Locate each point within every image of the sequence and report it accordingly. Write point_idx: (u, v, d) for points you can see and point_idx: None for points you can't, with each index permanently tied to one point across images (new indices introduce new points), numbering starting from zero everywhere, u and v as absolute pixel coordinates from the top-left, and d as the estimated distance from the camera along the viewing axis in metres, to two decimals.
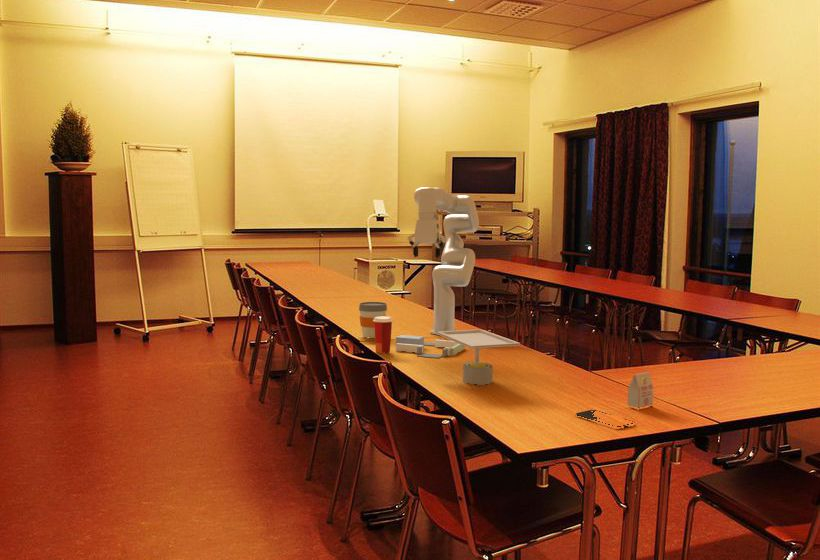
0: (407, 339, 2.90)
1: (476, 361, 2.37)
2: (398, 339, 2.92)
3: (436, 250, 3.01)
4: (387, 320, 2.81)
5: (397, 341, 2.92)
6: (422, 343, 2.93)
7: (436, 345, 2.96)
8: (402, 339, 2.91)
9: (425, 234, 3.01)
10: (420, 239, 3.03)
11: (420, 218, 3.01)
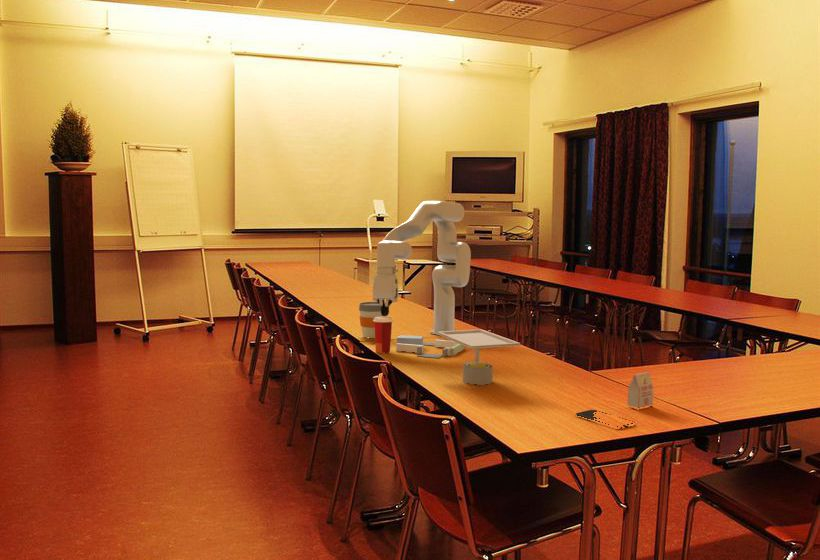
0: (409, 339, 2.90)
1: (476, 361, 2.37)
2: (399, 339, 2.91)
3: (384, 308, 2.94)
4: (387, 320, 2.81)
5: (398, 342, 2.91)
6: (422, 342, 2.94)
7: (436, 345, 2.96)
8: (403, 339, 2.91)
9: (384, 289, 2.93)
10: (378, 294, 2.94)
11: (378, 273, 2.92)
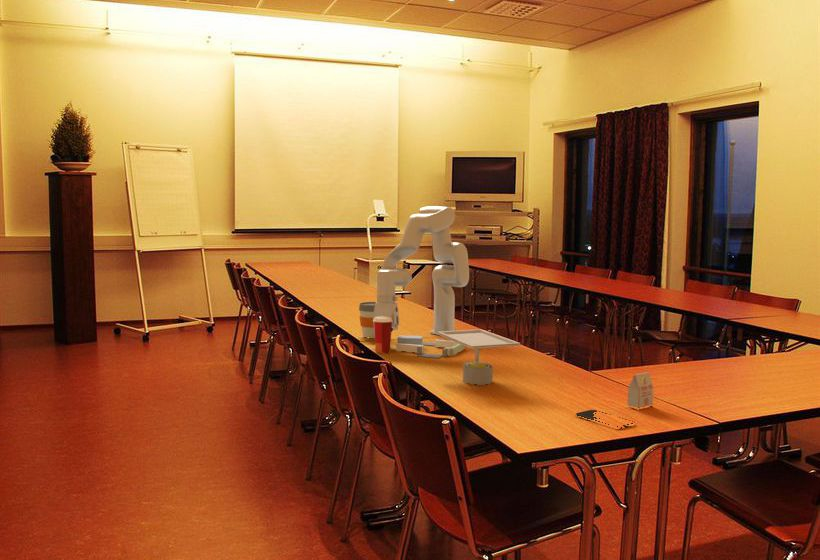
0: (409, 339, 2.90)
1: (476, 361, 2.37)
2: (400, 339, 2.90)
3: None
4: (387, 320, 2.81)
5: (399, 342, 2.91)
6: None
7: (436, 345, 2.96)
8: (404, 339, 2.90)
9: None
10: None
11: (378, 301, 2.93)
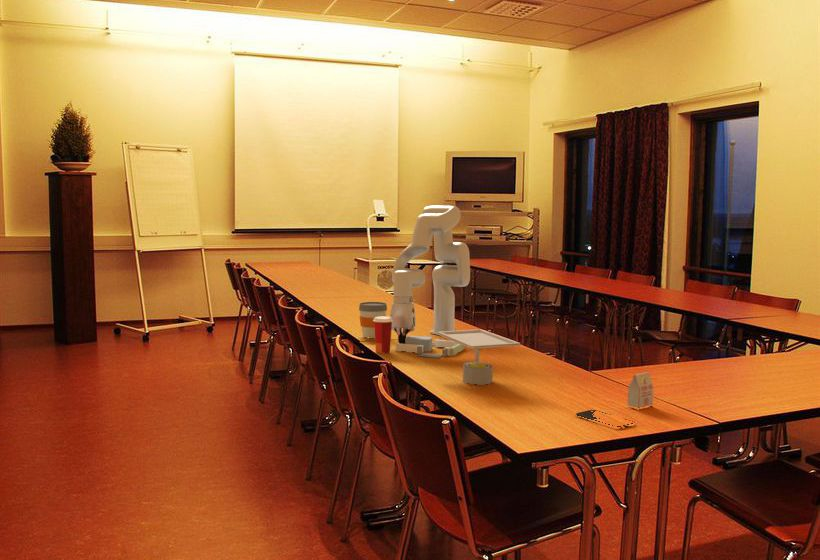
0: (417, 340, 2.88)
1: (476, 361, 2.37)
2: (407, 340, 2.89)
3: (402, 337, 2.93)
4: (387, 320, 2.81)
5: (406, 342, 2.89)
6: (431, 343, 2.91)
7: (436, 345, 2.96)
8: (412, 340, 2.88)
9: (401, 318, 2.91)
10: (395, 323, 2.93)
11: (395, 302, 2.91)
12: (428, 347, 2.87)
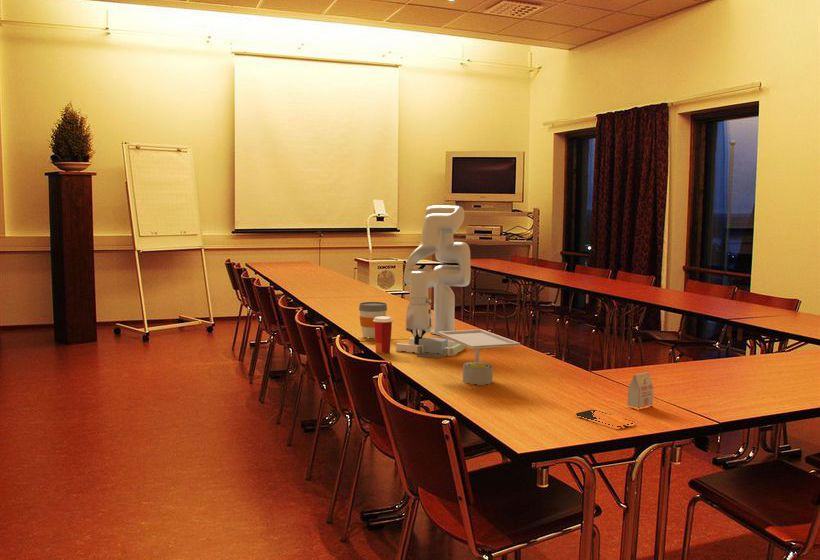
0: (430, 341, 2.84)
1: (476, 361, 2.37)
2: (421, 341, 2.86)
3: (418, 339, 2.90)
4: (387, 320, 2.81)
5: (420, 343, 2.86)
6: (445, 346, 2.86)
7: None
8: (425, 341, 2.85)
9: (417, 320, 2.89)
10: (411, 325, 2.90)
11: (411, 303, 2.88)
12: (440, 349, 2.83)
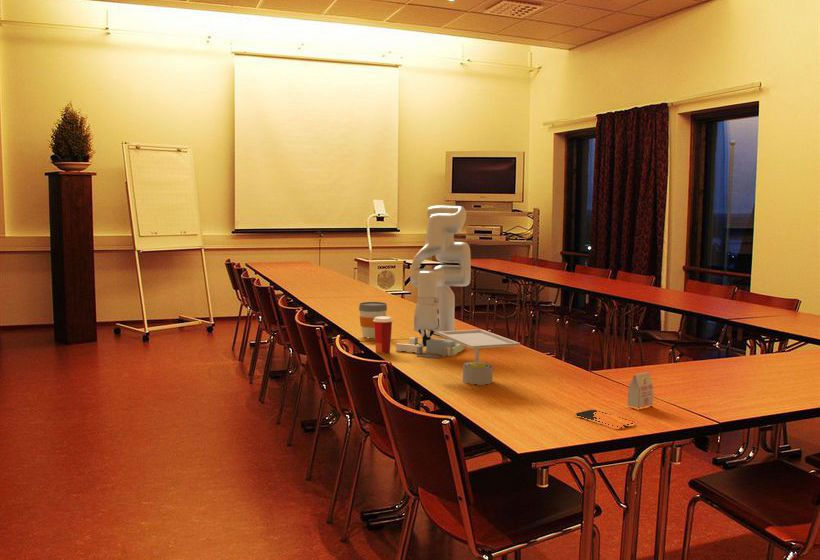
0: (437, 343, 2.83)
1: (476, 361, 2.37)
2: (428, 342, 2.85)
3: (426, 339, 2.89)
4: (387, 320, 2.81)
5: (427, 344, 2.85)
6: None
7: None
8: (432, 342, 2.84)
9: (425, 320, 2.87)
10: (419, 325, 2.88)
11: (420, 303, 2.87)
12: None
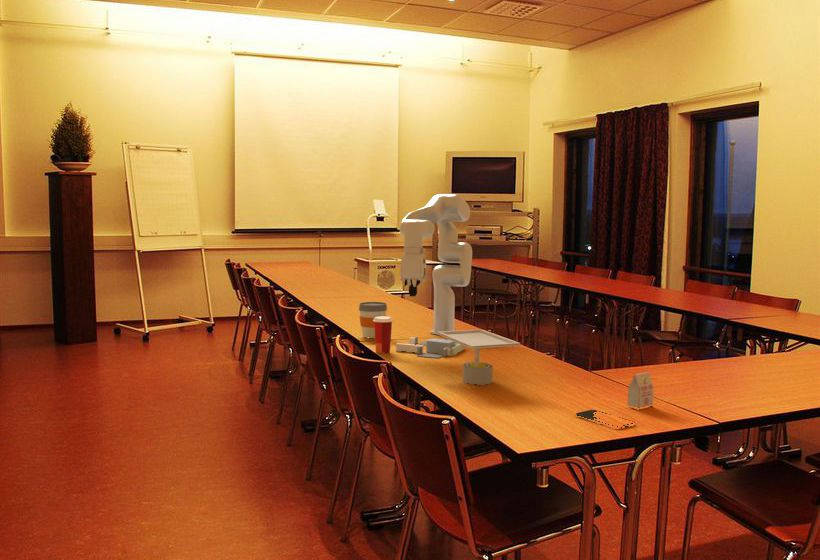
0: (437, 343, 2.83)
1: (476, 361, 2.37)
2: (428, 342, 2.85)
3: (412, 289, 2.89)
4: (387, 320, 2.81)
5: (427, 345, 2.85)
6: None
7: None
8: (432, 343, 2.84)
9: (411, 269, 2.88)
10: (405, 274, 2.89)
11: (406, 253, 2.87)
12: None
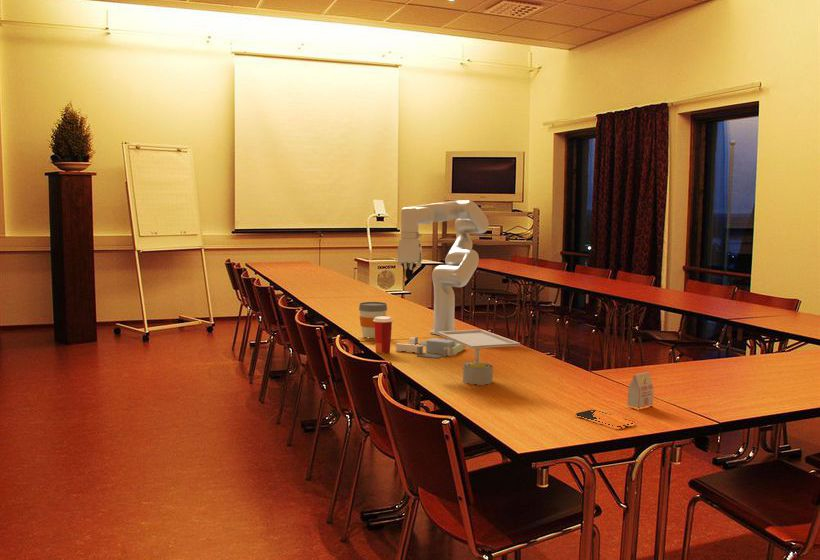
0: (437, 343, 2.83)
1: (476, 361, 2.37)
2: (428, 342, 2.85)
3: (409, 272, 3.06)
4: (387, 320, 2.81)
5: (427, 345, 2.85)
6: None
7: None
8: (432, 343, 2.84)
9: (408, 253, 3.05)
10: (402, 258, 3.06)
11: (402, 238, 3.04)
12: None
